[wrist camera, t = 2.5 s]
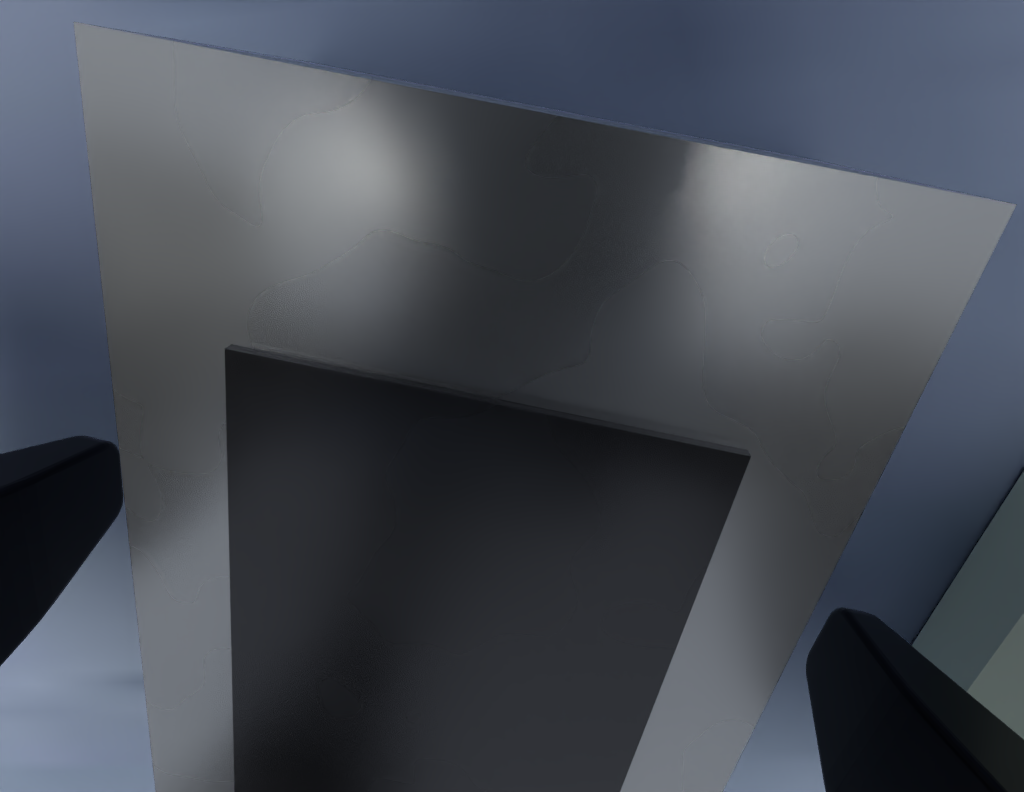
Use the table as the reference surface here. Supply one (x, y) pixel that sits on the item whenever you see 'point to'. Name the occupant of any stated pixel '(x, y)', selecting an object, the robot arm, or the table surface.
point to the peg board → (986, 618)
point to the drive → (484, 418)
